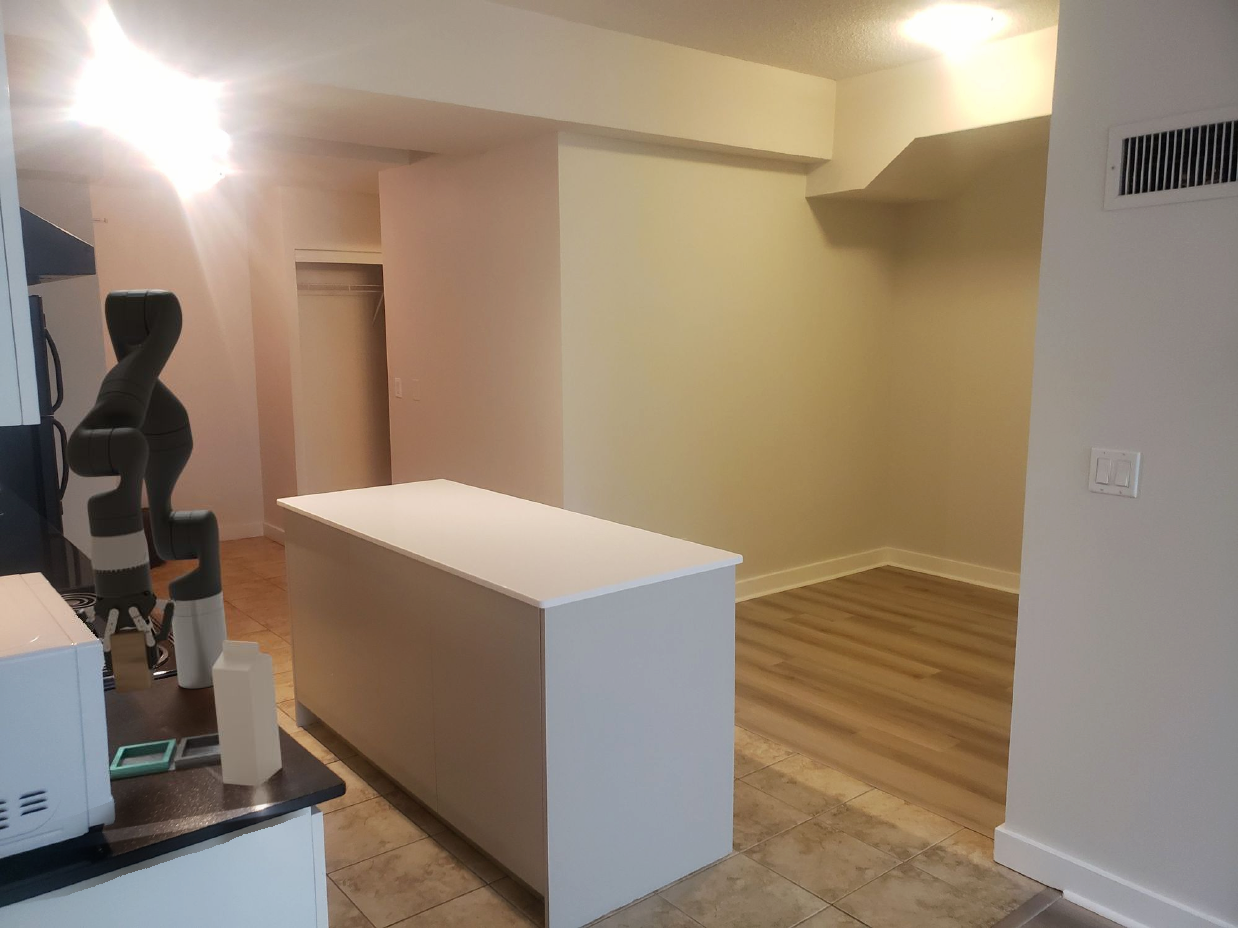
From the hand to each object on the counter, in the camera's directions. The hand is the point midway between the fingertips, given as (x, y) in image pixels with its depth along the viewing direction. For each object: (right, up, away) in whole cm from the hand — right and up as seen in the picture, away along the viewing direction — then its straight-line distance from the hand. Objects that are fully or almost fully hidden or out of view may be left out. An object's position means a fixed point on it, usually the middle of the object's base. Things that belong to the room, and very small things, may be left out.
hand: (133, 669), depth 141 cm
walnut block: (0, -3, 0) cm, 3 cm away
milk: (+19, -16, -3) cm, 26 cm away
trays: (+5, -16, +4) cm, 17 cm away
